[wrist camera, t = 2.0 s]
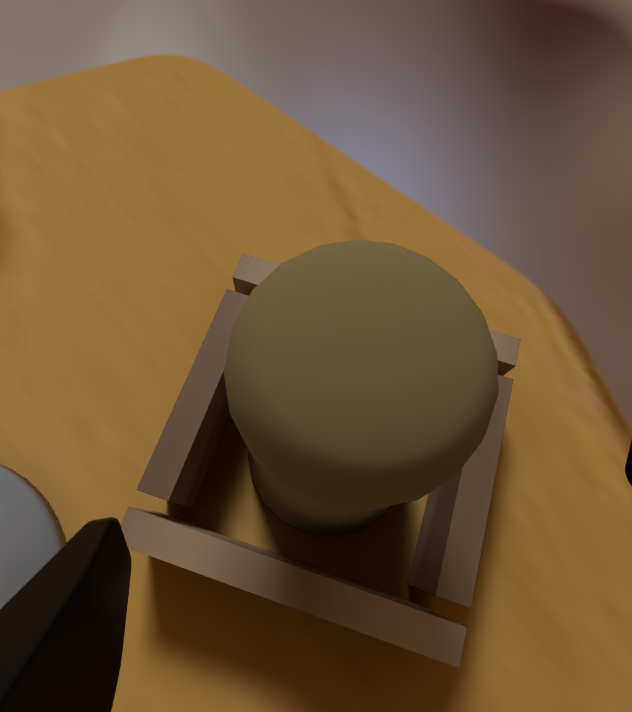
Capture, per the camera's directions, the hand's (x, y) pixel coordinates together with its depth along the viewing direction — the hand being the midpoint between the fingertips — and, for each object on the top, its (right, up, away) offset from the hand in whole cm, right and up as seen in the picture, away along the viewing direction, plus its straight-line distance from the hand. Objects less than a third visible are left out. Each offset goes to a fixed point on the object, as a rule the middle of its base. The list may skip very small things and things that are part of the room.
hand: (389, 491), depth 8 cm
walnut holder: (-1, -1, +10) cm, 10 cm away
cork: (-1, -1, +10) cm, 10 cm away
